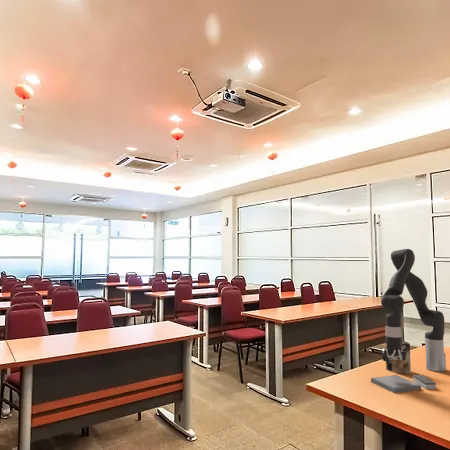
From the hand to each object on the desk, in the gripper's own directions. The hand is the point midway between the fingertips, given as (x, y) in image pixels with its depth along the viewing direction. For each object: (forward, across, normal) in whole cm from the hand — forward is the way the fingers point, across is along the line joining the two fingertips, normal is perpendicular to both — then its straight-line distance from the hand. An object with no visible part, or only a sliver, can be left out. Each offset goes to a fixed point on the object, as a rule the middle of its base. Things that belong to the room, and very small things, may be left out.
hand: (394, 369), depth 183 cm
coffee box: (+8, -20, -18) cm, 28 cm away
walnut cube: (+1, 0, 0) cm, 1 cm away
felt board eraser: (+8, -15, +3) cm, 17 cm away
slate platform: (+8, 0, 0) cm, 8 cm away
